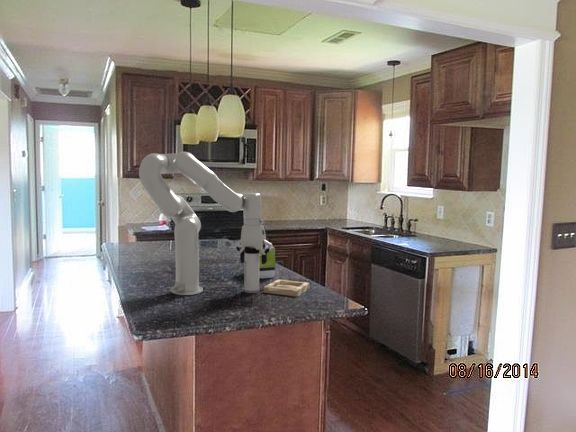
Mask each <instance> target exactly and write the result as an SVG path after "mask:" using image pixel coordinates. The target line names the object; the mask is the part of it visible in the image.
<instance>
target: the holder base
mask: <svg viewBox="0 0 576 432" xmlns="http://www.w3.org/2000/svg"><path fill="white" fill-rule="evenodd" d="M310 284H311V283H310V282H307V281H298V280H297V281H296V280H287V279H280V278H279V279H276V280H274V281H273V282H271V283H269V284H266V285H265V286H263V293H265V294H266V293H267V294H271V295H273V294H274V295H282V296H289V297H299V296H301V295H302V294H304V293H305V292H307V291H308V290H310V289H311V288H310V287H311V285H310Z"/></svg>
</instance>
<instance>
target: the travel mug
mask: <svg viewBox="0 0 576 432" xmlns="http://www.w3.org/2000/svg"><path fill="white" fill-rule="evenodd" d="M244 252H245V260H244V262H243V264H244V271H243V272H244V275H243V276H244V277H243V278H244V280H243V281H244V282H243V283H244V285H243V288H244V289H243V290H244V293H246V294H256V293H257V294H258V293H259V292H260V279H259V250H256V248H254V249H252V248H249V247H245V251H244Z"/></svg>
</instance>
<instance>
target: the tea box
mask: <svg viewBox="0 0 576 432" xmlns="http://www.w3.org/2000/svg"><path fill="white" fill-rule="evenodd" d="M267 248H268V246H267V245H266V248H265V249H267ZM262 255H263V254H262V252H261V251H260V250H259V280H260V278H261V279H270V278H276V248H275V247H274V246H272V248H271V250H270V251H269V252H268V254H267V262H266V263H265V264H262V258H261V256H262Z"/></svg>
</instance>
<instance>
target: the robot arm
mask: <svg viewBox="0 0 576 432" xmlns="http://www.w3.org/2000/svg"><path fill="white" fill-rule="evenodd" d="M165 174H167V175H169V174H182V175H183V176H184V177H185V178H187V179H188V180H189V181H190V182H192V183H193V184H194V185H195V186H197V187H198V188H199V189H201V190H202V191H203V192H204V193H205V194H206V195H208V196H209V197H210V198H211V199H212V200H213V201H214V202H215V203H217V204H219V206H221V207H222V208H224V209H225V210H226V211H228V212H230V213H236V212H239V211H240V210H243V213H242V214H243V225H242V226H241V231H240V233H241V234H240V239H238V240H237V241H235V242H234V243H233V245H234V246H235V248H236V251H238V253H239V260H240V263H241V264H244V260H245V247H249V248H252V249H254V248H256V250H260V251H261V252H262V254H263V255H262V256H261V258H262V264H265V263H266V262H267V254H268V252H269V251H270V250H271V248H272V247H274V246H273V244H272V242H269V241H268V240H267V237H266V229H265V226H264V225H263V224H265V223H266V222H265V220H264V219H263V218H262V214H263V213H262V195H261V193H259V192H246V193H241V192H235V191H233V190H232V188H229V186H227V185H226V184H225V183H224V182H223V181H222V180H221V179H219V177H218V176H217V174H216V173H215V172H213V171H212V170H211V169H210V168H209V167H207V165H205V164H203V162H201V161H200V160H198V159H197V158H196V157H195V155H193V154H192V153H191V152H188V151H180V152H178V153H177V152H176V153H174V152H173V153H157V152H155V153H154V152H153V153H152V152H151V153H149V154H147V155H146V156H144V158H143V159H142V161H141V162H140V165H139V169H138V175H139V180H140V183H141V185H142V187H143V188H144V189H145V191H146V192H147V194H148V195H149V196H150V198H151V200H152V201H153V202H154V204H155V205H156V206H157V207H158V209H159V210H160V211H161V213H162V215H163V216H164V217H166V218H169V219H171V220H172V221H173V223H174V224H175V226H174V232H173V233H174V245H175V248H174V249H175V250H174V252H175V282H174V286H170V287H169V291H170V292H171V293H172V294H174V295H177V296H193V295H197V294H200V293H203V291H204V290H203V289H204V288H203V287H202V286H200V255H199V254H200V252H199V251H200V247H199V246H200V242H199V232H200V231H201V229H202V223H201V220H200V218H199V217H198V216H197V214H196V212H195V211H194V210H193V209H192V207H191V206H190V205H189V203H188V202H187V201H186V199H185V198H184V197H182V196H181V195H179V194H176V193H175V192H174V190H172V189H171V187H170V186H169V184H168V183H167V182H166V181H165V179H164V177H163V176H162V175H165ZM266 245H267V246H268V248H267V249H265V248H266Z"/></svg>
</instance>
